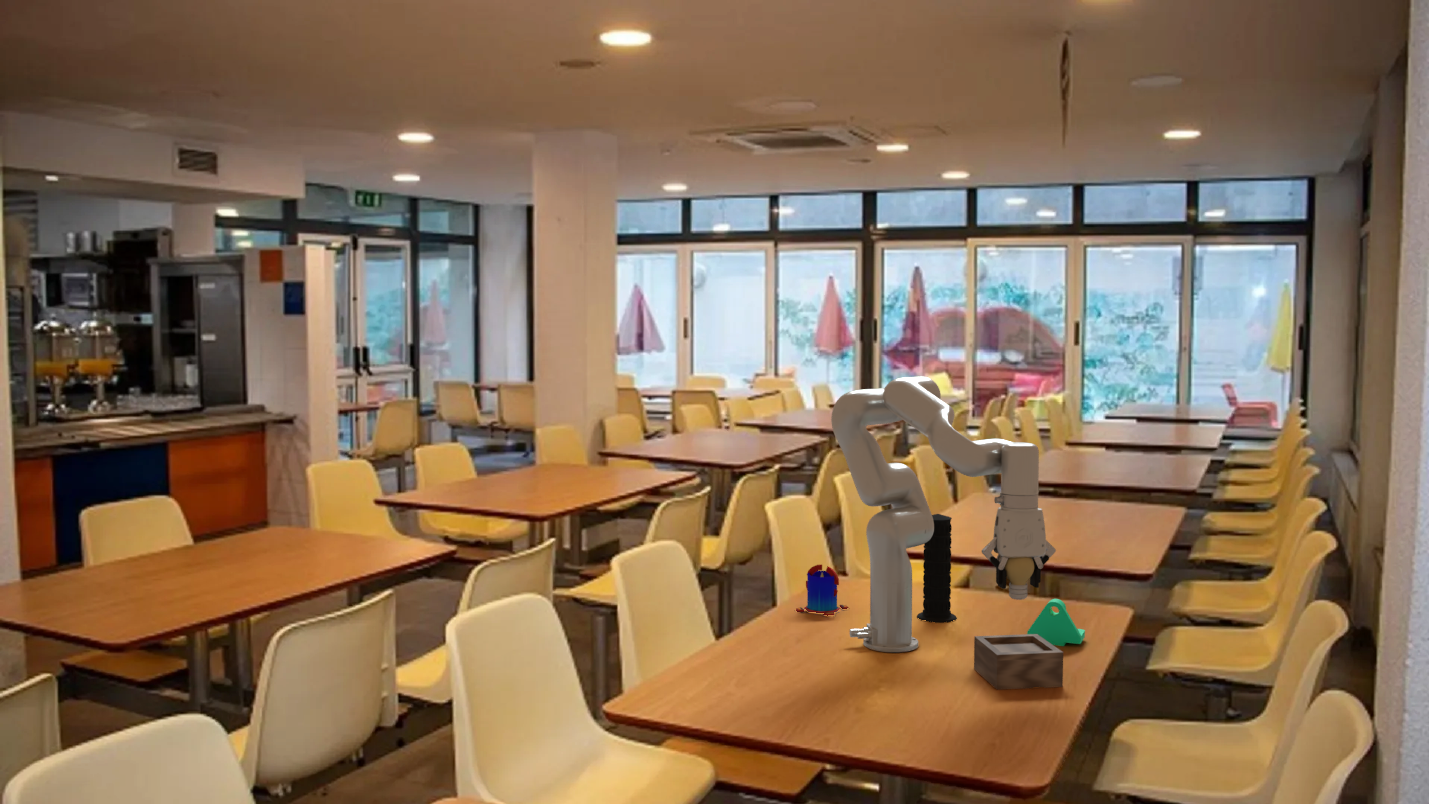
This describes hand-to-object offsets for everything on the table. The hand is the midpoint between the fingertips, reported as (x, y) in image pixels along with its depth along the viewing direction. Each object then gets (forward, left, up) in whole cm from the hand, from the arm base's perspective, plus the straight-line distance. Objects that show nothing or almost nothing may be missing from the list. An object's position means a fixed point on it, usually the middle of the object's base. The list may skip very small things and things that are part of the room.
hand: (1018, 586), depth 250 cm
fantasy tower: (-29, +61, -20) cm, 71 cm away
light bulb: (0, 0, -3) cm, 3 cm away
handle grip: (-2, +50, -20) cm, 54 cm away
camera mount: (+19, +26, -20) cm, 38 cm away
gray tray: (0, 0, -20) cm, 20 cm away
